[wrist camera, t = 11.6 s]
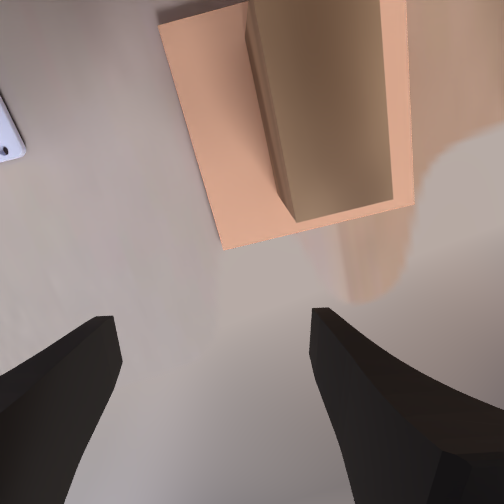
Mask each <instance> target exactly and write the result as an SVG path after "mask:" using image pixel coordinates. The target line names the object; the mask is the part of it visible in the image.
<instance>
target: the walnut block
mask: <svg viewBox="0 0 504 504" xmlns="http://www.w3.org/2000/svg"><path fill="white" fill-rule="evenodd" d="M245 41H246V46H247V51H248V56H249V60H250V65H251V70H252V75H253V80H254V84H255V89H256V94H257V99H258V103H259V108H260V113H261V118H262V122H263V127H264V132H265V137H266V141H267V146H268V151H269V156H270V161H271V165H272V170H273V175H274V180H275V184H276V189H277V194H278V196H279V197H280V199H281V200H282V202H283V204H284V205H285V207H286V208H287V210H288V211H289V213H290V214H291V216H292V217H293V219H294V220H295V222H296V223H299V222H303V221H307V220H311V219H315V218H319V217H323V216H327V215H331V214H335V213H340V212H344V211H348V210H352V209H356V208H360V207H364V206H368V205H372V204H376V203H380V202H384V201H388V200H393V186H392V172H391V157H390V143H389V128H388V114H387V100H386V85H385V71H384V56H383V42H382V27H381V13H380V0H249V2H248V11H247V21H246V30H245Z"/></svg>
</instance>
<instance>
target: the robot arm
mask: <svg viewBox="0 0 504 504" xmlns="http://www.w3.org/2000/svg"><path fill="white" fill-rule="evenodd" d="M4 146H5V147H6V148H7V149H8V151H9V153H8V155H7V154H5V152H4V151H3V147H4ZM25 153H26V148H25V145H24V143H23V141H22V139H21V137H20V135H19V133H18V131H17V129H16V127H15V125H14V123H13V121H12V118H11V116H10V114H9V112H8V110H7V108H6V106H5V104H4V102H3V100H2V98H1V96H0V163H1V162H4V161H8V160H12V159H16V158H20V157H22V156H24V154H25ZM309 355H310V359H311V364H312V368H313V373H314V376H315V380H316V383H317V385H318V388H319V391H320V394H321V396H322V399H323V402H324V404H325V407H326V410H327V413H328V415H329V418H330V421H331V423H332V426H333V429H334V431H335V434H336V437H337V440H338V443H339V446H340V449H341V452H342V456H343V459H344V463H345V467H346V470H347V474H348V478H349V481H350V485H351V489H352V493H353V497H354V501H355V504H504V410H502V409H500V408H497V407H495V406H492V405H490V404H487V403H485V402H483V401H480V400H478V399H475V398H473V397H471V396H468V395H466V394H464V393H462V392H459V391H457V390H455V389H453V388H451V387H449V386H447V385H444V384H442V383H441V382H439V381H436V380H434V379H432V378H431V377H429V376H427V375H425V374H423V373H421V372H419V371H418V370H416V369H414V368H412V367H410V366H409V365H407V364H405V363H404V362H402V361H400V360H399V359H397V358H396V357H394V356H392V355H391V354H389V353H388V352H387V351H385V350H383V349H382V348H381V347H379V346H378V345H376V344H375V343H374V342H372V341H371V340H369V339H368V338H366V337H365V336H364V335H363V334H361V333H360V332H359V331H358V330H356V329H355V328H354V327H352V326H351V325H350V324H349V323H347V322H346V321H345V320H344V319H343V318H341V317H340V316H339V315H338V314H336V313H335V312H334V311H332V310H331V309H330V308H312V319H311V335H310V348H309ZM122 362H123V361H122V356H121V351H120V346H119V342H118V337H117V332H116V327H115V322H114V317H113V316H96V317H94V318H92V319H90V320H89V321H87V322H85V323H84V324H82V325H81V326H79V327H78V328H76V329H75V330H73V331H72V332H70V333H69V334H67V335H66V336H64V337H63V338H61V339H59V340H58V341H56V342H55V343H53V344H52V345H50V346H49V347H47V348H46V349H44V350H43V351H41V352H39V353H38V354H36V355H35V356H33V357H31V358H30V359H28V360H26V361H25V362H23V363H22V364H20V365H18V366H17V367H15V368H13V369H12V370H10V371H8V372H6V373H5V374H3V375H1V376H0V504H64V502H65V499H66V496H67V494H68V491H69V488H70V485H71V483H72V480H73V477H74V475H75V472H76V469H77V467H78V464H79V462H80V460H81V457H82V455H83V453H84V451H85V448H86V446H87V444H88V442H89V440H90V438H91V436H92V434H93V432H94V430H95V428H96V425H97V424H98V422H99V419H100V417H101V415H102V413H103V411H104V409H105V406H106V405H107V403H108V401H109V398H110V396H111V394H112V392H113V390H114V387H115V384H116V381H117V378H118V375H119V372H120V369H121V366H122Z"/></svg>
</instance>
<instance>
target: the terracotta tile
mask: <svg viewBox="0 0 504 504" xmlns="http://www.w3.org/2000/svg"><path fill="white" fill-rule="evenodd" d="M248 2H249V1H246V2H242V3H238V4H235V5H231V6H227V7H224V8H220V9H216V10H213V11H209V12H205V13H202V14H198V15H194V16H191V17H187V18H183V19H180V20H176V21H172V22H169V23H165V24H161V25H158V29H159V32H160V36H161V39H162V42H163V46H164V49H165V53H166V56H167V59H168V63H169V66H170V70H171V73H172V76H173V80H174V83H175V87H176V90H177V93H178V97H179V100H180V104H181V107H182V110H183V114H184V117H185V121H186V124H187V127H188V131H189V134H190V138H191V141H192V145H193V148H194V151H195V155H196V158H197V162H198V165H199V168H200V172H201V175H202V179H203V182H204V185H205V189H206V192H207V196H208V199H209V202H210V206H211V209H212V213H213V216H214V219H215V223H216V226H217V230H218V233H219V236H220V240H221V243H222V247H223V250H228V249H232V248H236V247H240V246H244V245H248V244H253V243H257V242H261V241H265V240H269V239H273V238H277V237H281V236H286V235H290V234H294V233H298V232H302V231H306V230H310V229H315V228H319V227H323V226H327V225H331V224H335V223H339V222H343V221H348V220H352V219H356V218H360V217H364V216H368V215H372V214H376V213H381V212H385V211H389V210H393V209H397V208H401V207H405V206H410V205H414V204H415V202H414V179H413V155H412V131H411V107H410V83H409V60H408V36H407V12H406V0H380V13H381V27H382V42H383V56H384V71H385V85H386V100H387V114H388V128H389V143H390V157H391V172H392V186H393V200H388V201H384V202H380V203H376V204H372V205H368V206H364V207H360V208H356V209H352V210H348V211H344V212H340V213H335V214H331V215H327V216H323V217H319V218H315V219H311V220H307V221H303V222H299V223H296V222H295V220H294V219H293V217H292V216H291V214H290V213H289V211H288V210H287V208H286V207H285V205H284V204H283V202H282V200H281V199H280V197H279V196H278V194H277V189H276V184H275V180H274V175H273V170H272V165H271V161H270V156H269V151H268V146H267V141H266V137H265V132H264V127H263V122H262V118H261V113H260V108H259V103H258V99H257V94H256V89H255V84H254V80H253V75H252V70H251V65H250V60H249V56H248V51H247V46H246V41H245V30H246V21H247V11H248Z"/></svg>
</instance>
